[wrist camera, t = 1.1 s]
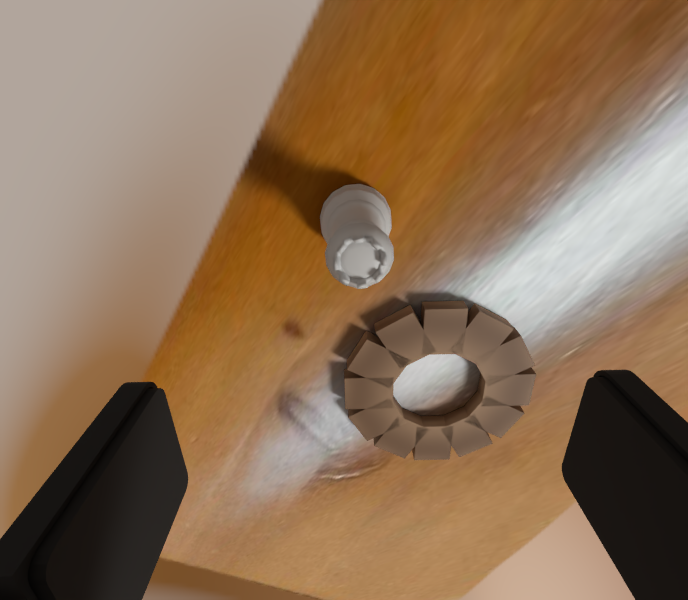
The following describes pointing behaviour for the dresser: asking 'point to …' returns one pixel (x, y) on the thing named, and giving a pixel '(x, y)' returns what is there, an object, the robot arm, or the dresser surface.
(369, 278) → the rook chess piece
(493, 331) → the walnut ring
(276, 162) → the dresser surface
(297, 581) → the dresser surface
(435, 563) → the dresser surface
